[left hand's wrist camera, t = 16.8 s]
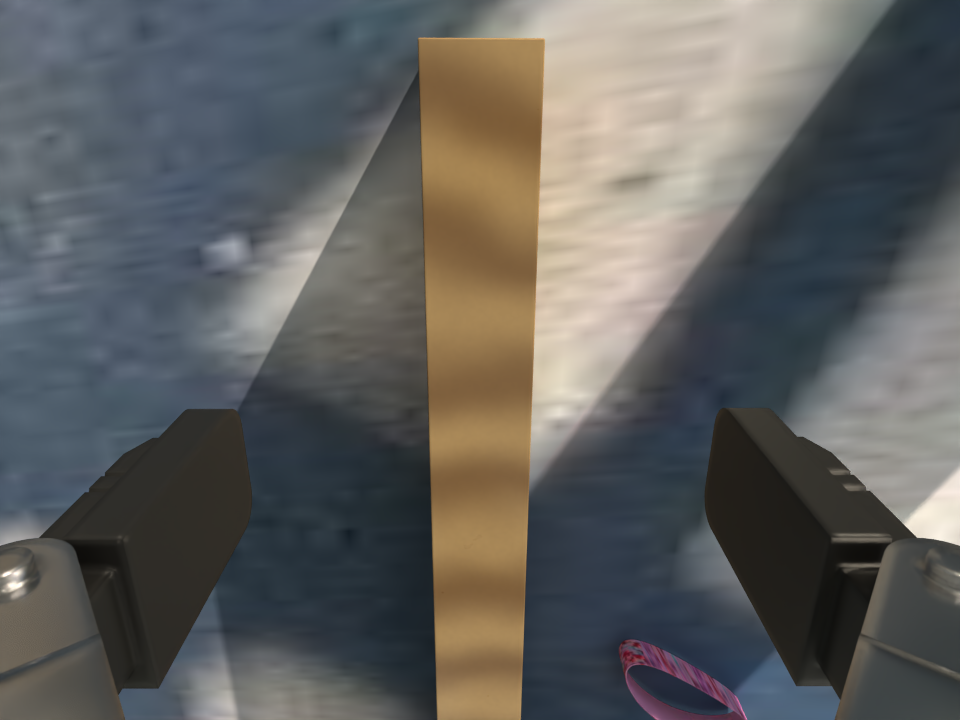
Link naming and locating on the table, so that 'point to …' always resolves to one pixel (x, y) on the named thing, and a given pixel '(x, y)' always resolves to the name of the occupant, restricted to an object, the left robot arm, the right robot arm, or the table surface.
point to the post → (480, 355)
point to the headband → (662, 660)
